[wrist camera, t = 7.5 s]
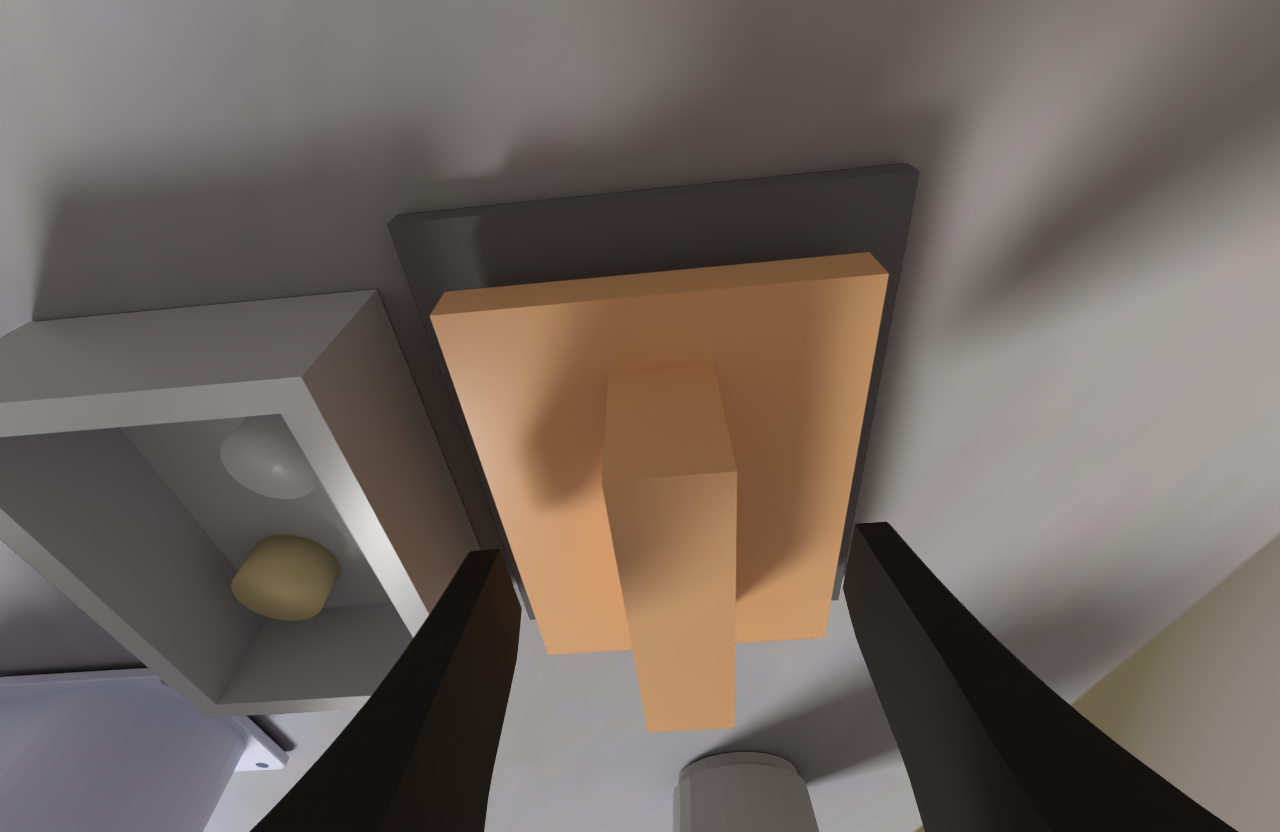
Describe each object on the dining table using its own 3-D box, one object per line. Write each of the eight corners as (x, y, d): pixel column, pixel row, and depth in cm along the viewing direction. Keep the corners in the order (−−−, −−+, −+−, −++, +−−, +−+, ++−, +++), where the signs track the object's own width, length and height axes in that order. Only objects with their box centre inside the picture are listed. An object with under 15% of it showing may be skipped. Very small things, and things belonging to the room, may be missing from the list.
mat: (532, 603, 19) (530, 619, 19) (398, 214, 11) (387, 224, 11) (833, 584, 19) (838, 599, 18) (906, 163, 11) (919, 171, 10)
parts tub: (268, 612, 19) (205, 717, 16) (28, 322, 13) (-142, 415, 10) (499, 596, 19) (476, 702, 16) (377, 289, 12) (301, 376, 9)
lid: (555, 601, 18) (533, 766, 14) (454, 274, 11) (365, 416, 8) (808, 584, 18) (857, 750, 14) (855, 237, 11) (974, 366, 7)
